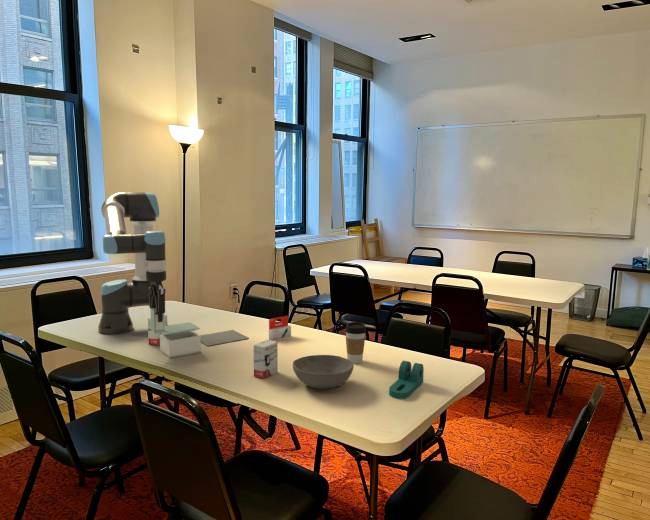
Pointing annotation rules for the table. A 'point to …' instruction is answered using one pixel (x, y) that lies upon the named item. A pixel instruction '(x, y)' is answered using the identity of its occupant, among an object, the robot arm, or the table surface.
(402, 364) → the bracket
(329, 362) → the bowl
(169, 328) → the lid
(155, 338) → the ink box
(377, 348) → the table surface
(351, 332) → the coffee cup
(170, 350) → the tub
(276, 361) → the ink box
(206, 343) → the mat
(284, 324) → the ink box
